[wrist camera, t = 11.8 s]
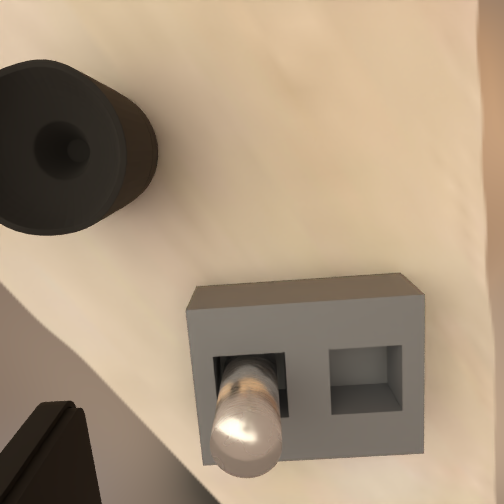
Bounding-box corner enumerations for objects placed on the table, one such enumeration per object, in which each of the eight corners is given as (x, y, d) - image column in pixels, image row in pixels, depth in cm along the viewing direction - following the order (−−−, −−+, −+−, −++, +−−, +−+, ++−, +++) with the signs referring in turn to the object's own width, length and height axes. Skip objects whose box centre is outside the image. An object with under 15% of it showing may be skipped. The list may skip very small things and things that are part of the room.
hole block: (196, 286, 37) (185, 310, 31) (400, 272, 36) (424, 294, 31) (210, 422, 39) (203, 465, 34) (401, 411, 39) (423, 453, 33)
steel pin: (222, 340, 36) (205, 415, 25) (273, 335, 36) (278, 408, 25) (228, 388, 37) (214, 480, 26) (278, 383, 36) (285, 474, 26)
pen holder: (65, 60, 33) (-16, 24, 23) (185, 120, 34) (154, 108, 24) (21, 179, 35) (-71, 191, 25) (135, 233, 36) (88, 265, 26)
